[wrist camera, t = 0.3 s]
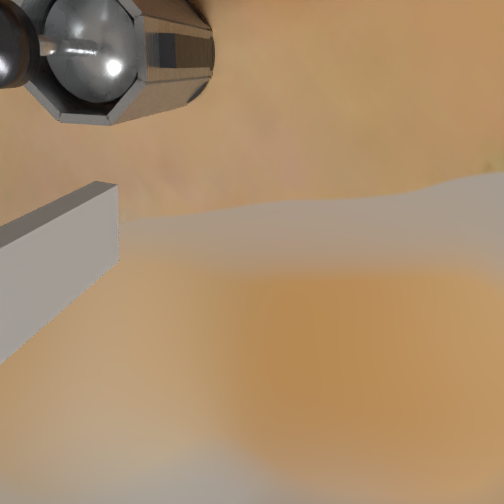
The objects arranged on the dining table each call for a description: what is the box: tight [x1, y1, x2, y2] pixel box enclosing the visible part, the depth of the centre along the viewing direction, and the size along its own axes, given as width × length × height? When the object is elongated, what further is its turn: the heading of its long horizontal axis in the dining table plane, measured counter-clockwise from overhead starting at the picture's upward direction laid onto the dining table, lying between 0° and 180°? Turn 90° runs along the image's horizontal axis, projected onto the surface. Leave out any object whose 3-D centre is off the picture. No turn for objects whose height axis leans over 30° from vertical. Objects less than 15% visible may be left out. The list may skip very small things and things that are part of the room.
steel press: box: [11, 0, 215, 126], centre depth 33 cm, size 9×10×14 cm
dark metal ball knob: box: [0, 0, 138, 103], centre depth 24 cm, size 7×7×11 cm
